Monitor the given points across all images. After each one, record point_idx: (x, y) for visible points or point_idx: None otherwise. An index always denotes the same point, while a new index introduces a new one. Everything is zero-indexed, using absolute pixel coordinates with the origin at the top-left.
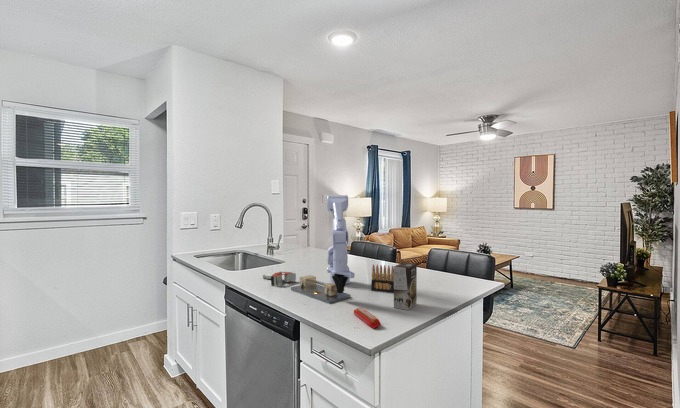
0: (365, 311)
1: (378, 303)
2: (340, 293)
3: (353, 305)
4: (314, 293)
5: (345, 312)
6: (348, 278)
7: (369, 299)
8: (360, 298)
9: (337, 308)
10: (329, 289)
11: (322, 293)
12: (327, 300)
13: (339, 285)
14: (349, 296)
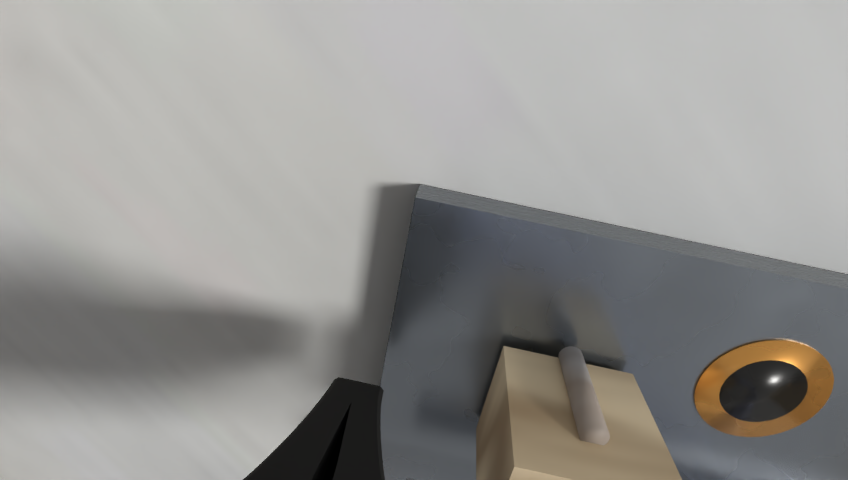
0: None
1: (71, 430)
2: None
3: (169, 285)
4: (805, 344)
5: (30, 32)
6: None
7: (201, 477)
8: None
9: (211, 98)
10: (541, 416)
11: (685, 390)
12: (449, 203)
13: (260, 467)
14: None
